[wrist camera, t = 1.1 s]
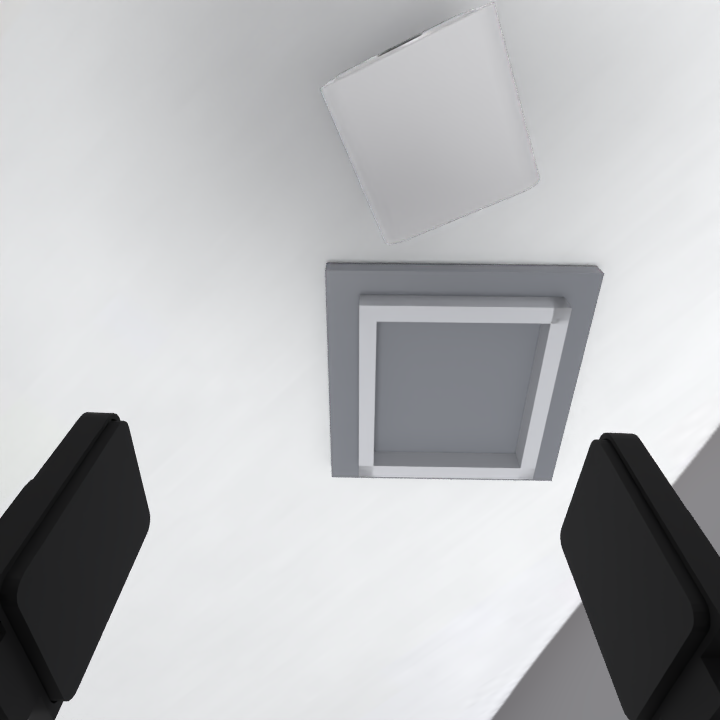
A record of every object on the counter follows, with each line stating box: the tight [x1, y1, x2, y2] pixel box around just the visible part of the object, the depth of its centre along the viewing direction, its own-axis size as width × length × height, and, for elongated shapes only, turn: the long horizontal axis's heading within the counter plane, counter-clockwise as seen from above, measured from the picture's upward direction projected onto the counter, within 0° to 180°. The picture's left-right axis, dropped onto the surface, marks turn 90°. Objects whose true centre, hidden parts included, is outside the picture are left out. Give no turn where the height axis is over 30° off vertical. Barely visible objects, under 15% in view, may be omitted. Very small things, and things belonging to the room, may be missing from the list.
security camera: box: [320, 2, 540, 244], centre depth 23 cm, size 6×7×10 cm
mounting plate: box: [325, 263, 604, 481], centre depth 34 cm, size 16×16×3 cm
